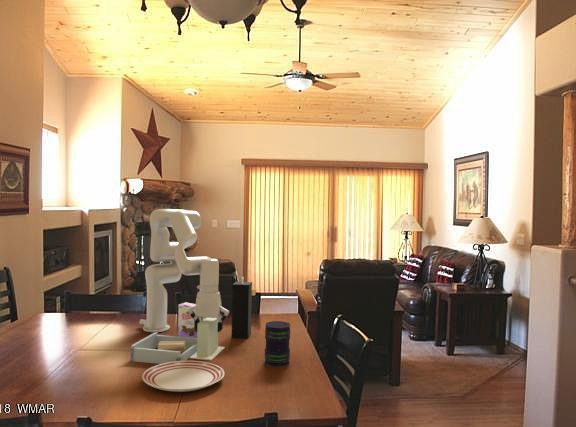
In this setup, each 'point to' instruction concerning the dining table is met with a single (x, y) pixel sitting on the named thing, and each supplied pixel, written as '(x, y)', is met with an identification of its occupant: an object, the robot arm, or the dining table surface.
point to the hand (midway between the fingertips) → (208, 330)
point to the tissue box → (241, 309)
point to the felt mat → (208, 356)
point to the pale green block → (207, 337)
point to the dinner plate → (183, 375)
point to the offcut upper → (172, 345)
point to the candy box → (186, 321)
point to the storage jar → (277, 344)
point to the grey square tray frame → (148, 354)
